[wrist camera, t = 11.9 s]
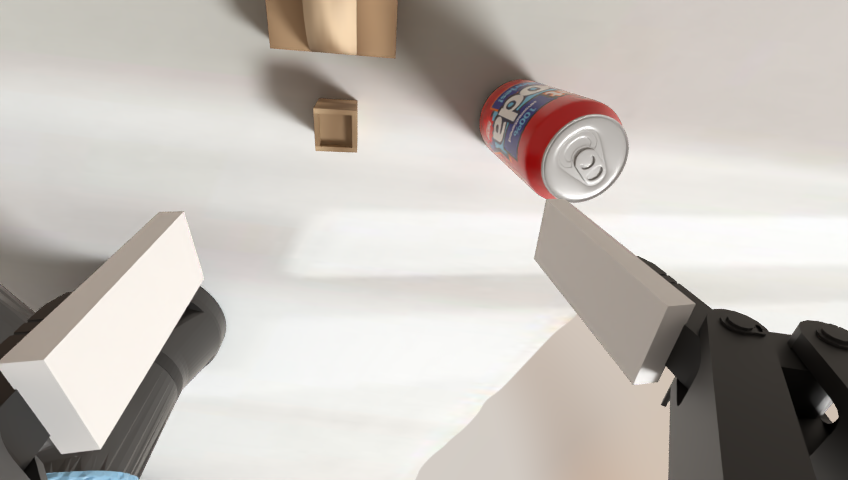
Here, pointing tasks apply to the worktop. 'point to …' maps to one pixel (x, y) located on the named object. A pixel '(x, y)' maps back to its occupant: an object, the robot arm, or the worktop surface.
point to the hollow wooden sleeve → (335, 125)
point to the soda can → (555, 139)
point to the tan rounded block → (334, 26)
